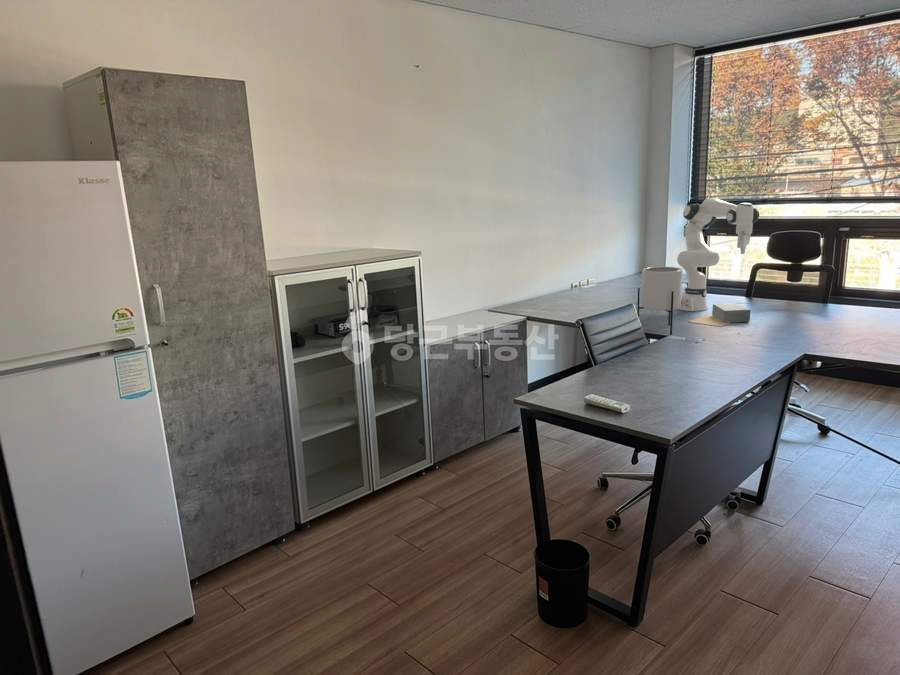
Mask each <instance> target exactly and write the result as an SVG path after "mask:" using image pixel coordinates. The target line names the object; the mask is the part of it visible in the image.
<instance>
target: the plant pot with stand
mask: <svg viewBox="0 0 900 675" xmlns="http://www.w3.org/2000/svg"><path fill="white" fill-rule="evenodd" d="M682 284H683V268H682V267H676V266H651V267H650V266H649V267H644V268H642V271H641V289H640V287H638V288H637V315H638V317H639V318H640V310H641V309H642V310H644V309H645V310H650V311H654V312H655V311H657V312H668V318H667V319H668V322H667V323H668V324H667V326H669V327H670V328H669V329H670V330H669V335H673V317H674V316H673V315H674V314H673V312H674V310H679V309H678V308H680V307H681V295H682V286H683V285H682ZM640 291H641V293H640ZM640 294H641V306H640Z"/></svg>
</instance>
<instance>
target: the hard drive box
mask: <svg viewBox="0 0 900 675" xmlns="http://www.w3.org/2000/svg"><path fill="white" fill-rule="evenodd" d="M711 311H712V313H711V316H714V317H716V318H717V319H719V320H720V321H722V322H732V323H749V322H750V321H751V309H750V308H748V307H746V306H743V305H742V304H740V303H738V302H737V303H734V302H733V303H713V304H712V310H711Z"/></svg>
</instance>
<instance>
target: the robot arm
mask: <svg viewBox="0 0 900 675" xmlns="http://www.w3.org/2000/svg"><path fill="white" fill-rule="evenodd" d="M682 216H683V218H684V219H685V220H687V221H690V222H689V223H687V224H686V226H685V228H684V236H685V242H686V243H685V244H686V247H687V249H688V250H684V251H680V252H679V253H678V255H677V258H676V260H677V264H678V266H680V268H681V269H682V270H684V271H685V272H686V275H687V287H685V288H684V289H683V291H684V293H682V294H681V307H680V308H678V309H677V310H681V311H685V312H686V311H687V312H701V311H706V310H708V304H707V276H706V275H705V274H704V273H703V272H701V271H698V268H708V267H714V266H716V265H718V263H719V261H720V253H719V252H718V251H717V250H715V249H713V248H711V247H709V246H708V244H706V242H705V238H704V233H703V229H704V230H705V229H708V227H712V225H713V224H714V223H715V222H716V220H717V218H724V217H726V221H727V223H728V224H729V225H736V226H735V234H736V235H737V244H736V247H737V248H738V249H740V255H744V254H745V252H746V247H747V246H748V245H749V244H750V241H751V234H753V226H754V224H755V223H756V222H757V221H758V219H759V218H760V212H759V210H758V209H757V208H756V207H755V206H753V204H752V203H750V202H740V203H739V204H734V203H730V202H728V201H724V200H722V199H720V198H715V197H707V198H705V199H704V200H703V201H702V202H701V204H699V203H698V202H696V203H691V204H688V205H687V206H686V207H685V208H684V209H683V212H682Z"/></svg>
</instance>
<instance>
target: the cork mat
mask: <svg viewBox="0 0 900 675" xmlns="http://www.w3.org/2000/svg"><path fill="white" fill-rule="evenodd" d="M690 322H691V323H692V324H697V325H698V324H699V325H706V326H713V327H720V328H722V327H724V326H726V325H729V324H732V323H733V322H722V321H720V320H719V319H717V318H716V317H714V316H712V315H709V314H706V315H703V316H701V317H697V318H694V319H692V320H690V321H688V323H690Z"/></svg>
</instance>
